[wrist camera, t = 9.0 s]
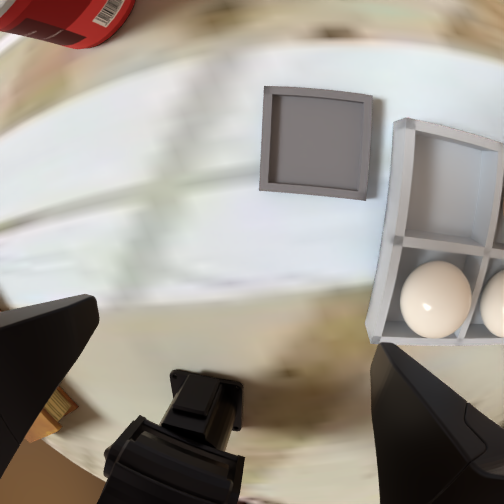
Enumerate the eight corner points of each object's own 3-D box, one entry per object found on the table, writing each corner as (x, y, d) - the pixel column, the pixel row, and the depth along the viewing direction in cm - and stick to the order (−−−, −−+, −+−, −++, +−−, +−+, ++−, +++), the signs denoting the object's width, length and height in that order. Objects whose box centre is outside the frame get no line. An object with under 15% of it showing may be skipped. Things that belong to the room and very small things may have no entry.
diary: (-32, 323, 35) (-53, 337, 29) (-20, 269, 29) (-49, 284, 23) (45, 424, 38) (28, 444, 32) (80, 404, 32) (57, 431, 26)
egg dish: (363, 198, 18) (365, 200, 17) (261, 188, 19) (259, 190, 18) (369, 98, 16) (372, 95, 15) (266, 89, 17) (264, 86, 16)
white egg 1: (443, 316, 19) (468, 353, 14) (385, 313, 19) (401, 353, 15) (460, 254, 17) (494, 281, 13) (400, 246, 18) (425, 274, 13)
